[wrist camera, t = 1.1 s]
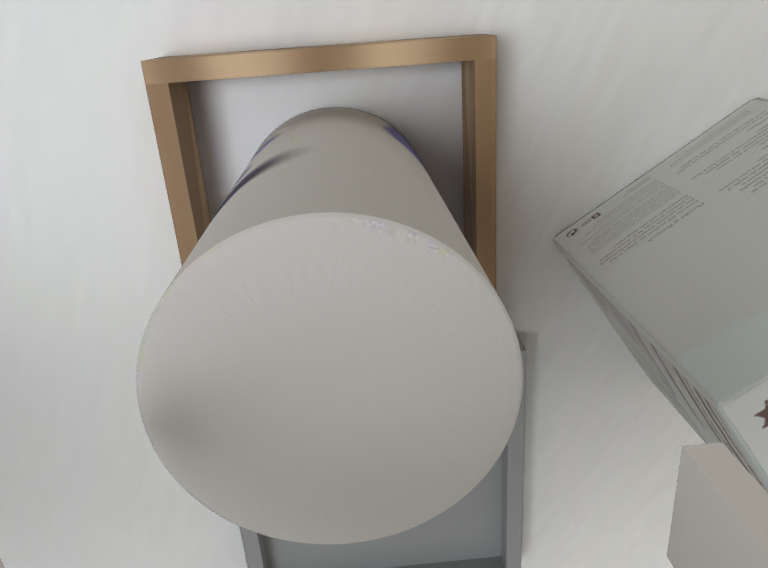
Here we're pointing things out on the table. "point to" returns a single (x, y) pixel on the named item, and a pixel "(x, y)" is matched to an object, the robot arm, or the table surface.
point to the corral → (173, 72)
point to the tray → (428, 527)
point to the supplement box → (693, 279)
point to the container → (330, 344)
